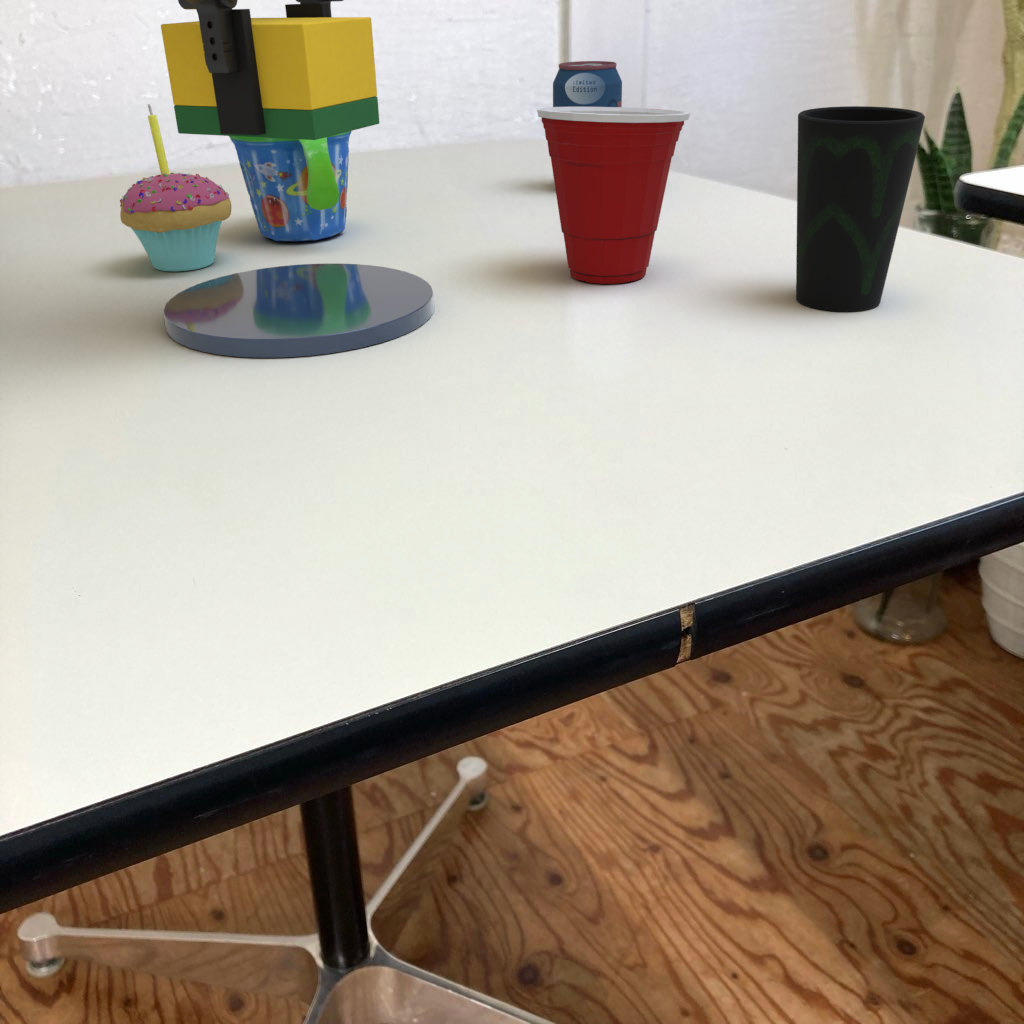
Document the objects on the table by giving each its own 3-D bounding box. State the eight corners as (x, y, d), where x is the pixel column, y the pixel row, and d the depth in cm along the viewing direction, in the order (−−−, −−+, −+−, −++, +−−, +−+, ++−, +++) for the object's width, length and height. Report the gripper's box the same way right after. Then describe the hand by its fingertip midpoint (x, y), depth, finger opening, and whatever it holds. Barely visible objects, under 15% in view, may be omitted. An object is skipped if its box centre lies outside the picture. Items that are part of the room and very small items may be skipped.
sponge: (177, 133, 63) (159, 24, 60) (250, 118, 69) (236, 17, 66) (315, 140, 59) (302, 23, 56) (380, 123, 65) (371, 17, 62)
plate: (106, 338, 68) (102, 320, 67) (274, 270, 82) (272, 254, 81) (340, 373, 61) (338, 353, 60) (478, 292, 75) (478, 276, 74)
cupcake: (114, 264, 85) (82, 107, 79) (211, 246, 89) (187, 96, 84) (157, 284, 79) (126, 116, 73) (258, 264, 84) (237, 105, 78)
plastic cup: (705, 266, 80) (716, 99, 74) (638, 301, 72) (645, 117, 66) (584, 250, 85) (585, 93, 80) (509, 281, 77) (505, 109, 72)
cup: (763, 305, 70) (780, 118, 65) (802, 279, 76) (821, 104, 70) (877, 322, 67) (906, 124, 61) (910, 293, 72) (939, 109, 67)
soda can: (600, 196, 104) (602, 67, 99) (541, 191, 108) (539, 65, 102) (631, 184, 110) (634, 61, 104) (573, 179, 113) (573, 59, 107)
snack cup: (232, 223, 98) (215, 107, 93) (343, 212, 101) (332, 99, 96) (255, 261, 84) (236, 129, 80) (382, 247, 88) (371, 119, 83)
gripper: (140, -421, 44) (227, 152, 54) (387, -322, 59) (417, 106, 70) (12, -391, 47) (118, 147, 57) (280, -304, 62) (324, 104, 73)
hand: (283, 124), depth 64 cm, fingers closed on sponge, 7 cm apart
